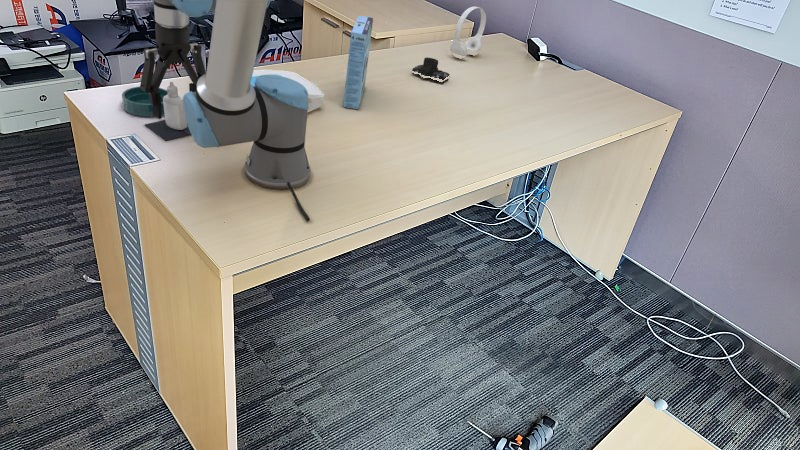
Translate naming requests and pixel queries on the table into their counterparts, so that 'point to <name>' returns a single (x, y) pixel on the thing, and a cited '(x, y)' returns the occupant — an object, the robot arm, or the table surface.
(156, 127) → the napkin
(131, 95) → the bowl
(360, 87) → the blue cardboard box
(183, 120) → the eye dropper bottle
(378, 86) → the table surface
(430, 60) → the film camera
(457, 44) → the headphones
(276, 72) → the document scanner
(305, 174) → the robot arm
